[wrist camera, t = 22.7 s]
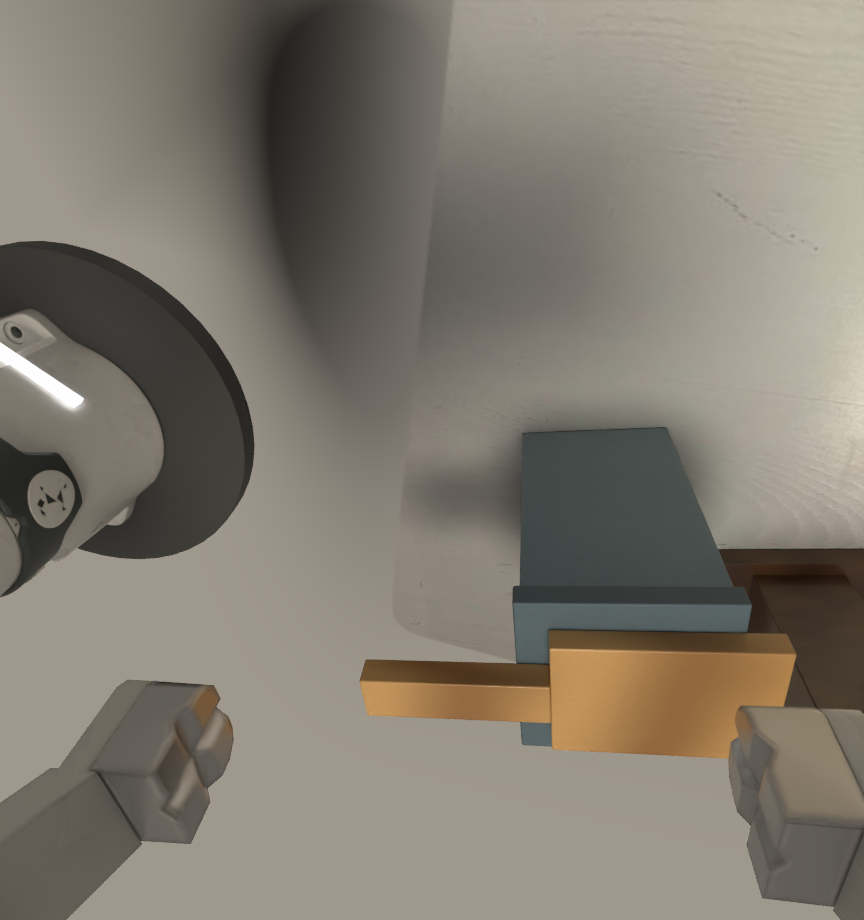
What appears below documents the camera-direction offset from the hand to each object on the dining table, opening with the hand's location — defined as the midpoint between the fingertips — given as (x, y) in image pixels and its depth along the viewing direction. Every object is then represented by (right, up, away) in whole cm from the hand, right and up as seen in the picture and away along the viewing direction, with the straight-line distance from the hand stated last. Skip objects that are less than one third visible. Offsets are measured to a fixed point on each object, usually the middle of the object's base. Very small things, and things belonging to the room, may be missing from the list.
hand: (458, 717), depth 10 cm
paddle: (+6, -7, +20) cm, 22 cm away
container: (+11, +2, +34) cm, 36 cm away
